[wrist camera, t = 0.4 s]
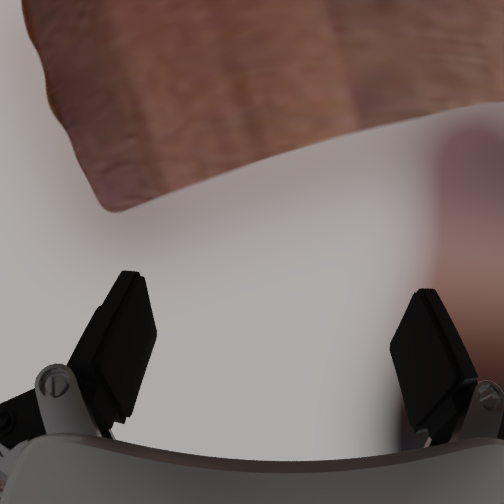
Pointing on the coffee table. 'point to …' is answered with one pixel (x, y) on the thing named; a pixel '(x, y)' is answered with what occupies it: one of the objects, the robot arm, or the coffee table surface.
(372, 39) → the coffee table surface
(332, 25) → the coffee table surface
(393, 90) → the coffee table surface
